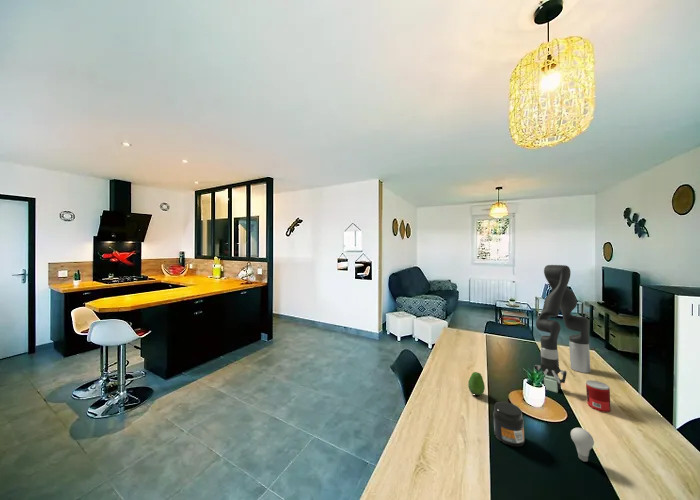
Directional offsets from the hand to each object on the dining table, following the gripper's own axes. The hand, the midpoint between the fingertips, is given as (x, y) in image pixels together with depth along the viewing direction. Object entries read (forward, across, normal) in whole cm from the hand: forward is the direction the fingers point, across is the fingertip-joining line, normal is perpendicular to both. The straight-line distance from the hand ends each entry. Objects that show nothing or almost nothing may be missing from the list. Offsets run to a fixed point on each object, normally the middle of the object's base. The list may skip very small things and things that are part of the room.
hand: (551, 387), depth 135 cm
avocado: (+1, +29, +31) cm, 42 cm away
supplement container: (+1, +10, +56) cm, 57 cm away
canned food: (+1, -18, +7) cm, 19 cm away
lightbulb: (+1, -12, +52) cm, 53 cm away
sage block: (+1, 0, 0) cm, 1 cm away
